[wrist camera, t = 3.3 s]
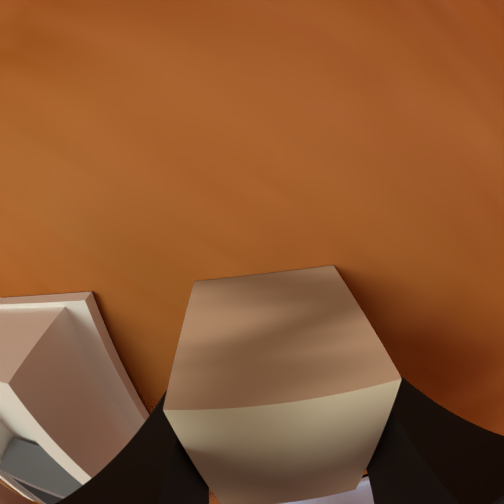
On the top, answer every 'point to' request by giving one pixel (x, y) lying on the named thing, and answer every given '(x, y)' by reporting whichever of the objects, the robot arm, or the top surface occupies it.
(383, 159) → the top surface
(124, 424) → the housing
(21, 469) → the tray
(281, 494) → the block
